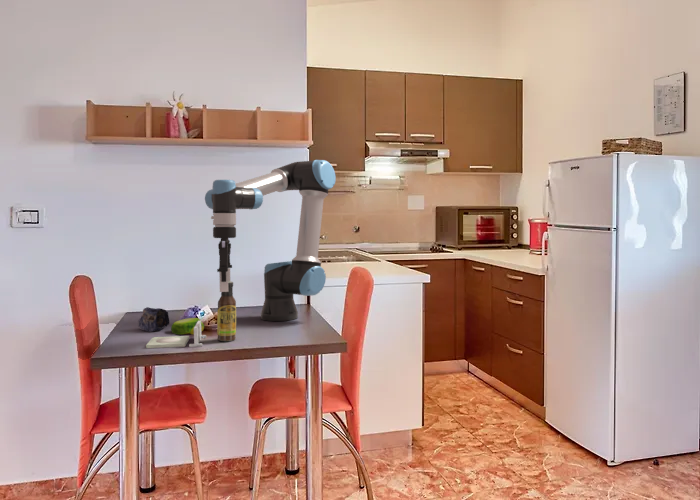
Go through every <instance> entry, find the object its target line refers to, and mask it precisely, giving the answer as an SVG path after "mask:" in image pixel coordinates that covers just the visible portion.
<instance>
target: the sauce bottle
mask: <svg viewBox="0 0 700 500" xmlns="http://www.w3.org/2000/svg"><path fill="white" fill-rule="evenodd" d="M233 288H234V282H233V281H231V280H230V281H228V292H220V295H221V296H220V297H219V299H218V302H217V319H216V320H217V321H216V322H217V329H216V330H217V331H216V334H217V340H218V341H220V342H232V341H235V340H236V335H237V302H236V301H237V300H236V299H235V297H234V291H233Z"/></svg>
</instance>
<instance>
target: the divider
mask: <svg viewBox="0 0 700 500" xmlns="http://www.w3.org/2000/svg"><path fill="white" fill-rule="evenodd" d="M201 321H202V320H201ZM201 321H198V322H197V324H196V325H195V327H194V334H193V340H194V341H193V342H194V343H189V345H188V346H189V348H198V347H199V348H200V347H203V343H200V341H201V340H202V339H206V338H207V335H206V334H202V331H201Z"/></svg>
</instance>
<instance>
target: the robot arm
mask: <svg viewBox="0 0 700 500" xmlns="http://www.w3.org/2000/svg"><path fill="white" fill-rule="evenodd" d="M336 180H337V178H336V172H335V169H334V167H333V166H332V164H331V163H330V162H329V161H327V160H325V159H315V160H304V161H294V162H291V163H289V164H285V165H282V166H280V167H277V168H274V169H272V170H271V171H270V173H266V174H262V175H260V176H257V177H254V178H250V179H247V180H243V181H239V182H237V183H236V181H235V180H233V179H216V180H213V183H212V189H211V188H210V189H209V190H207V192H205V196H204V201H205V205H206V206H207V207H208V208H209V209H211V210H212V215H211V217H210V219H211V220H212V225H213V228H212V237H213V238H214V239H220V241H219V243H218V244H217V246H218V255H219V263H218V264H219V267H218V268H217V270H216V271H217V273H219V293H221V292H228V281H231V269H232V268H233V265H232V264H231V250H232V244H231V243H232V242H231V241H230V239H235V238H236V237H237V228H236V225H237V214H236V213H237V210H258V209H259V208H260V207H261V206H262V205H263V201H264V196H266V195H269V194H272V193H275V192H278V193H283V192H286V191H298V193H299V194H300V195H301V197H302V199H301V209H300V216H299V227H298V233H297V234H298V235H297V236H298V237H297V246H296V255H295V256H294V257H293V258H292V259H291V260H290V261H289V260H288V261H287V260H286V261H280V262H279V261H278V262H272V263H271V262H270V263H267V264H266V265H265V266H264V271H263V272H264V273H263V278H264V279H263V281H264V282H263V283H264V300H263V301H264V302H263V305H262V309H261V312H260V319H261V320H263V321H268V322H285V321H293V320H295V319H296V320H297V319H298V318H299V312H298V310H297V306H296V303H295V301H294V295H299V296H306V297H307V296H310V297H312V296H316V295H318V294H319V293H320V292H321V291H322V290H323V289H324V287H325V284H326V280H327V279H326V278H327V276H326V273H325V269H324V267H322V262H321V260H320V259H319V248H320V239H321V229H322V221H323V210H324V209H323V208H324V201H325V199H326V197H328V196H329V190H331V189H332V188H333V187H334V186H335V185H336ZM230 242H231V243H230Z"/></svg>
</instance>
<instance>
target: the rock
mask: <svg viewBox="0 0 700 500" xmlns="http://www.w3.org/2000/svg"><path fill="white" fill-rule="evenodd" d="M142 312H143V313H142V315H141V316H140V318H139V319H138V321H137V322H138V323H137V326H138V327H139V329H140V330H142V331H144V332H151V333H152V332H155V331H159V332H160V331H161V330H162V329H163V328H165V327H167V326H169V325H170V317H169V312H168V311H167V310H166V309H164V308H157V307H155V308H153V307H148V306H146V307H144V308H143V309H142Z"/></svg>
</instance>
